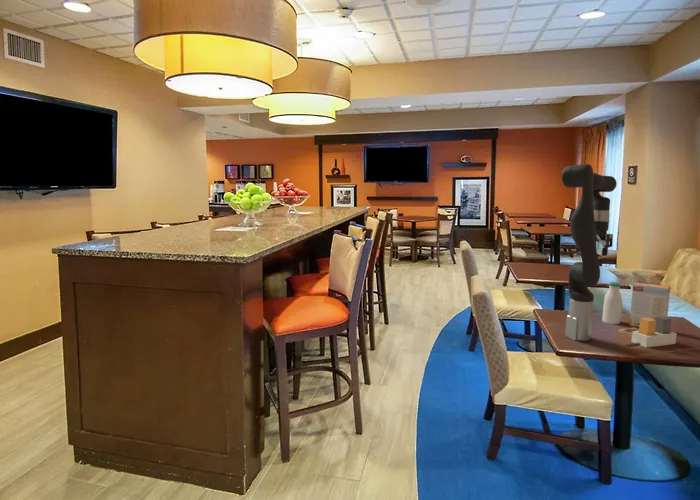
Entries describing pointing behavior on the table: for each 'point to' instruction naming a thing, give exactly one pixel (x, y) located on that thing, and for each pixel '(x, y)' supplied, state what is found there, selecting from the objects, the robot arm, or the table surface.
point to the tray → (628, 331)
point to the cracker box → (648, 302)
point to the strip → (660, 338)
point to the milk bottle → (612, 304)
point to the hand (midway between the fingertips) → (597, 254)
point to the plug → (647, 326)
